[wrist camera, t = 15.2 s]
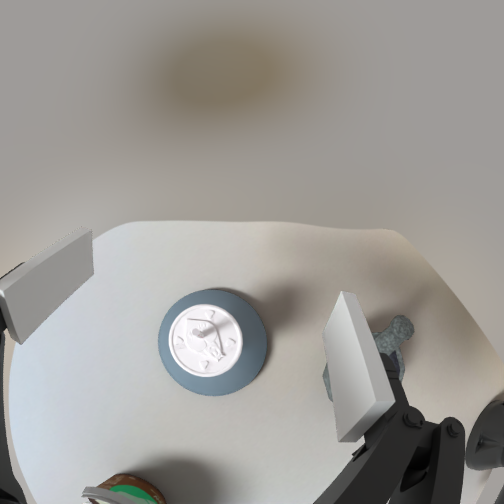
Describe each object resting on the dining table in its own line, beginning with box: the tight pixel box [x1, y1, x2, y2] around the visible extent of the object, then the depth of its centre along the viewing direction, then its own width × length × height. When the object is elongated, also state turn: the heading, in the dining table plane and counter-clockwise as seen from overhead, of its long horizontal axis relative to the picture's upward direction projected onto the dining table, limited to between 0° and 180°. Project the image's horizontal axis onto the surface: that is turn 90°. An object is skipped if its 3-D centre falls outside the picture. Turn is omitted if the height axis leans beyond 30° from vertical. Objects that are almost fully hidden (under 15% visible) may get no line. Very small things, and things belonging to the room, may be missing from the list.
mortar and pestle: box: [323, 315, 414, 402], centre depth 27 cm, size 11×9×12 cm
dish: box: [158, 290, 267, 396], centre depth 32 cm, size 13×13×1 cm
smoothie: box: [169, 304, 243, 377], centre depth 24 cm, size 6×6×14 cm
